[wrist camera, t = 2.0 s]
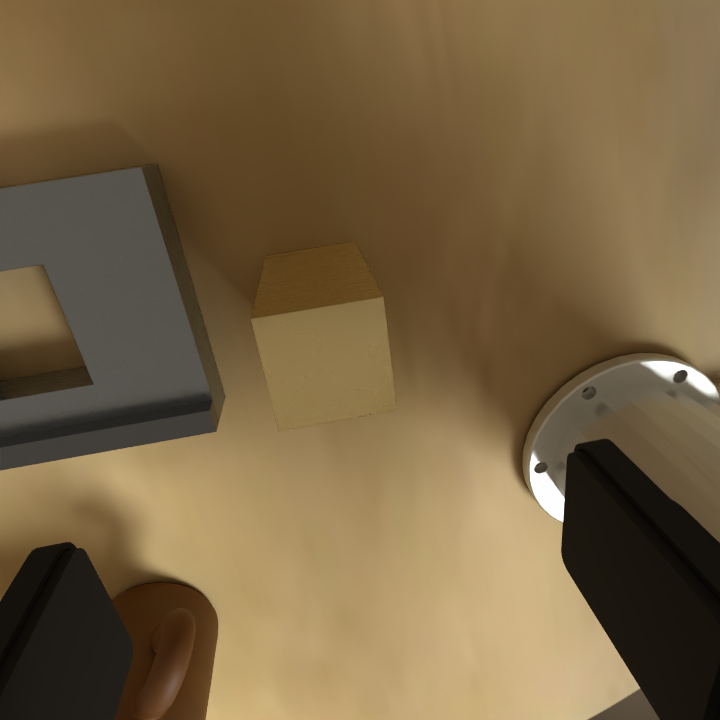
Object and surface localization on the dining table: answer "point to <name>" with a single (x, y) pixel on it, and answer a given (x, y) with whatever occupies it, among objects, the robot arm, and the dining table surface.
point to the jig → (107, 320)
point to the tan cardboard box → (322, 337)
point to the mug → (167, 652)
